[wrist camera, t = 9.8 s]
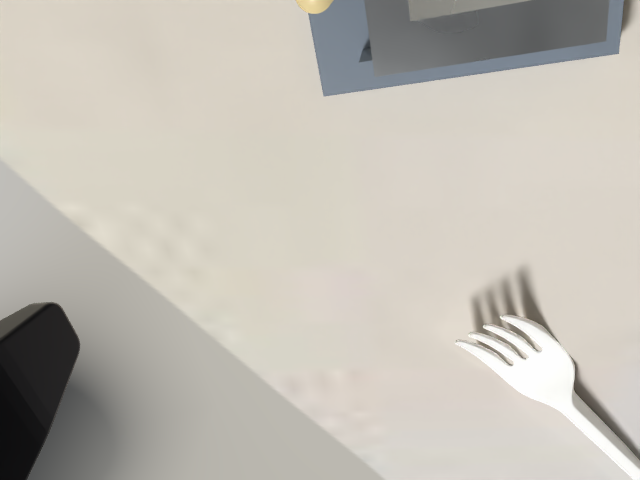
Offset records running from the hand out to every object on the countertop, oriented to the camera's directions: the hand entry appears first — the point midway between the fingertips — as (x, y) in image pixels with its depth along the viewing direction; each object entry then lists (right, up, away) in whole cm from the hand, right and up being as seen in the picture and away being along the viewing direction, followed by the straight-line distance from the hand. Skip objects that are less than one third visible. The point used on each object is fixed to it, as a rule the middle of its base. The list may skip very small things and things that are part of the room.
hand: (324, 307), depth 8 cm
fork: (+13, -8, +18) cm, 24 cm away
